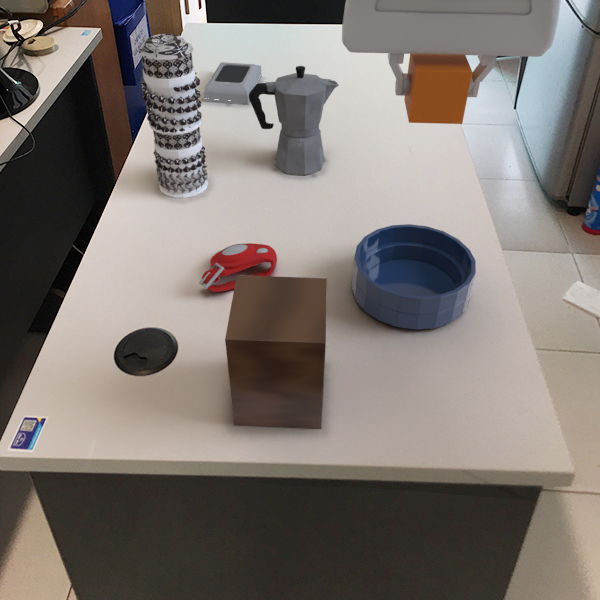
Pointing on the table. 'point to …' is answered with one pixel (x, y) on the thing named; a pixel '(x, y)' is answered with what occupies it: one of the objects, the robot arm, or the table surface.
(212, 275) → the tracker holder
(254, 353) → the block
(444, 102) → the orange cube
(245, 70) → the grey electronic device
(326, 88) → the coffeepot
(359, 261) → the bowl
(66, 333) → the table surface
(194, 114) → the decorative candle
